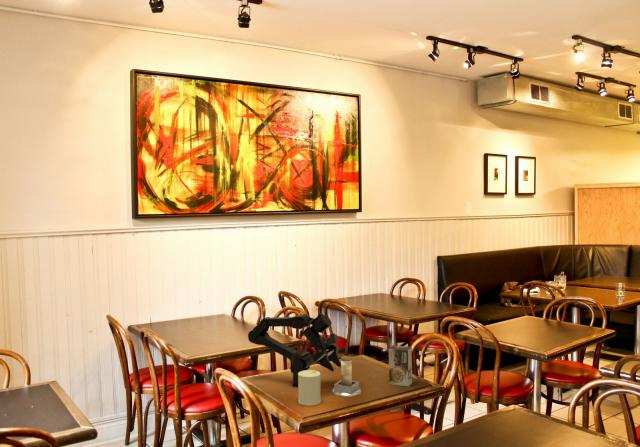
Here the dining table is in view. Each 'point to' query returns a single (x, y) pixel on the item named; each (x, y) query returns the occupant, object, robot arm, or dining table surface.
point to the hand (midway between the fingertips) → (337, 368)
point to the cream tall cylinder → (346, 370)
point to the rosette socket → (347, 389)
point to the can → (309, 387)
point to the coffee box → (400, 365)
